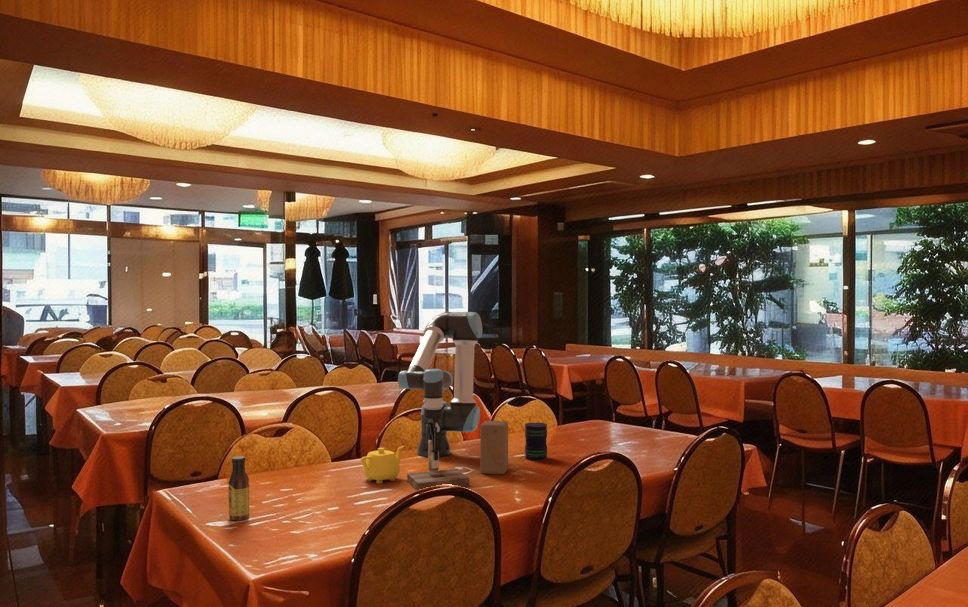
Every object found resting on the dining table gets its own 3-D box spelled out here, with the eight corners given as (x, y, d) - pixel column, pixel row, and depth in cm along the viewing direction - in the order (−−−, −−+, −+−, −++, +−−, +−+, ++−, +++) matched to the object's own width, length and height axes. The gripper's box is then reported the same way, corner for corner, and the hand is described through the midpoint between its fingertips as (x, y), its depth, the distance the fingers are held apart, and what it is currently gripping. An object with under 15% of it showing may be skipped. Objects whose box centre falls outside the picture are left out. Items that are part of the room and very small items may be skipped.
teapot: (413, 478, 271) (413, 446, 271) (371, 487, 258) (371, 454, 258) (393, 472, 281) (393, 441, 281) (351, 480, 268) (351, 448, 268)
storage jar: (521, 459, 302) (521, 425, 302) (528, 455, 311) (528, 421, 311) (543, 461, 298) (543, 427, 298) (550, 456, 307) (550, 423, 307)
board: (407, 481, 266) (407, 473, 266) (456, 476, 274) (456, 468, 274) (417, 491, 252) (417, 483, 252) (469, 486, 260) (469, 478, 260)
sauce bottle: (231, 515, 225) (231, 454, 225) (251, 515, 225) (251, 454, 225) (226, 522, 218) (225, 459, 218) (246, 521, 219) (246, 459, 219)
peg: (426, 474, 276) (426, 440, 276) (437, 474, 278) (436, 439, 278) (430, 477, 272) (429, 442, 272) (440, 476, 274) (440, 441, 274)
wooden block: (504, 475, 275) (504, 425, 275) (479, 474, 277) (479, 424, 277) (508, 469, 285) (508, 421, 285) (484, 468, 287) (484, 420, 287)
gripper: (418, 405, 281) (418, 462, 282) (430, 411, 265) (430, 472, 266) (435, 404, 284) (436, 461, 284) (449, 410, 268) (449, 470, 268)
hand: (433, 466), depth 275 cm, fingers closed on peg, 4 cm apart
